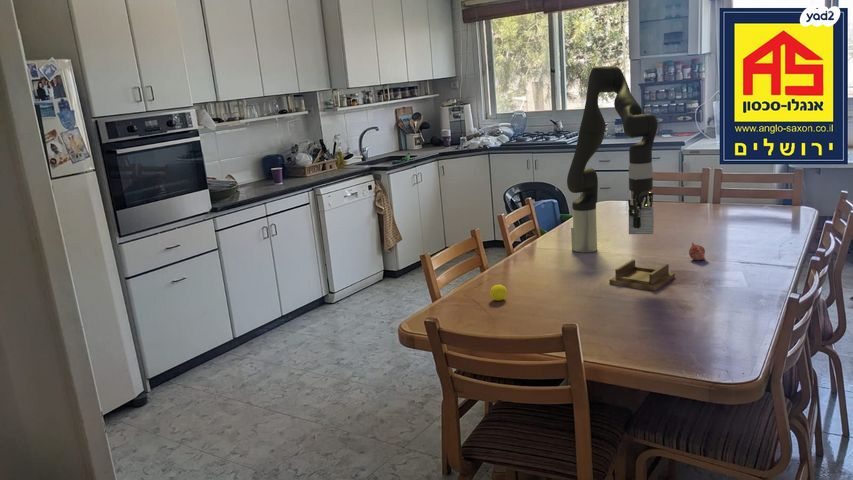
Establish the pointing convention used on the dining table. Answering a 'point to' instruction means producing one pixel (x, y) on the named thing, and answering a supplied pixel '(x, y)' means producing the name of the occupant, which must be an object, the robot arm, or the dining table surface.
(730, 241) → the dining table surface
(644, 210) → the medicine box
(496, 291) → the lemon
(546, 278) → the dining table surface
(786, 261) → the dining table surface
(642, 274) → the brown wooden tray
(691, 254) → the orange ridged rounded piece
